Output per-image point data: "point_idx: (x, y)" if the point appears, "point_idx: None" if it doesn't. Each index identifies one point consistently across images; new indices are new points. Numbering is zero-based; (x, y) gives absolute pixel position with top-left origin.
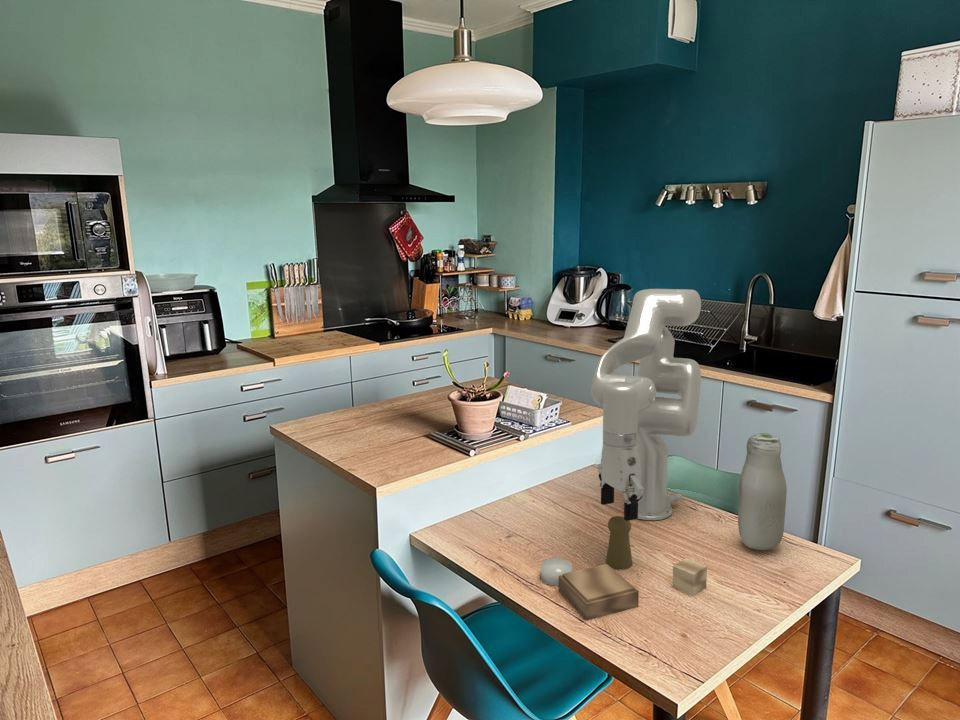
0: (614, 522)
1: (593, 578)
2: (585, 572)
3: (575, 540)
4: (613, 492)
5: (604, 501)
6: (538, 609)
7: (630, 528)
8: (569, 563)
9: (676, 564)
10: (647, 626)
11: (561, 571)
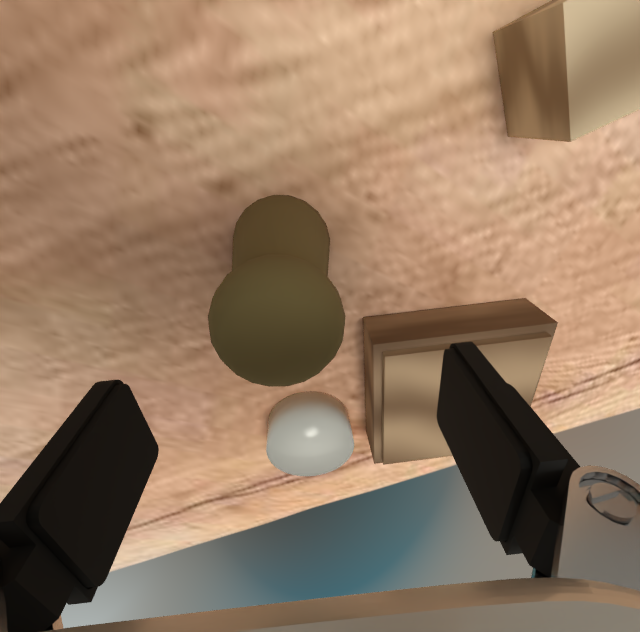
0: (303, 377)
1: None
2: (403, 421)
3: (83, 320)
4: (73, 463)
5: (146, 461)
6: (413, 471)
7: (325, 276)
8: (308, 421)
9: (573, 114)
10: (601, 314)
11: (342, 445)
